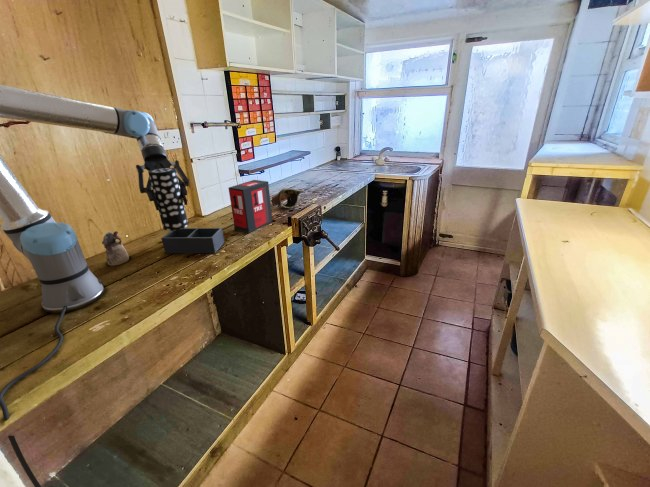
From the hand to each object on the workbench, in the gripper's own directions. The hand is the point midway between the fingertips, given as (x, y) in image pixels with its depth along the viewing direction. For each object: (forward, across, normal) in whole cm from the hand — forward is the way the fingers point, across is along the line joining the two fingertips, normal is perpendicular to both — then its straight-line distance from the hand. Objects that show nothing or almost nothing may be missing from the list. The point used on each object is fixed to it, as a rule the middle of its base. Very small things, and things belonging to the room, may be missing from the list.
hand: (172, 205), depth 106 cm
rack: (+7, -6, -26) cm, 28 cm away
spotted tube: (+4, 0, -9) cm, 9 cm away
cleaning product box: (0, -36, -33) cm, 49 cm away
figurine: (+3, +21, -30) cm, 36 cm away
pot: (-12, -62, -45) cm, 78 cm away
